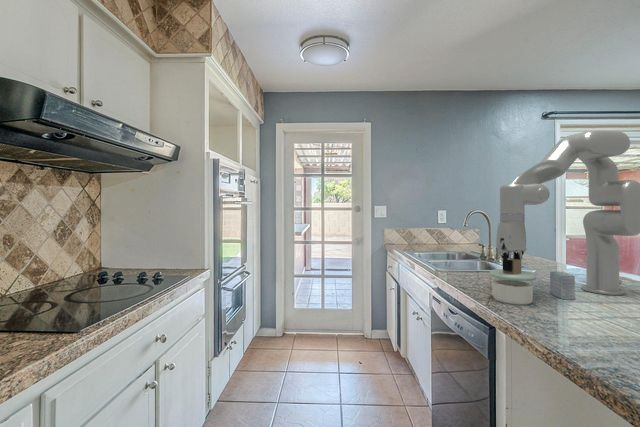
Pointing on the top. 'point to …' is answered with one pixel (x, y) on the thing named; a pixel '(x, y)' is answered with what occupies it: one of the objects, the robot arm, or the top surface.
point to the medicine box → (562, 285)
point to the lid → (513, 273)
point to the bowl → (513, 291)
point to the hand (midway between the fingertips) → (511, 269)
